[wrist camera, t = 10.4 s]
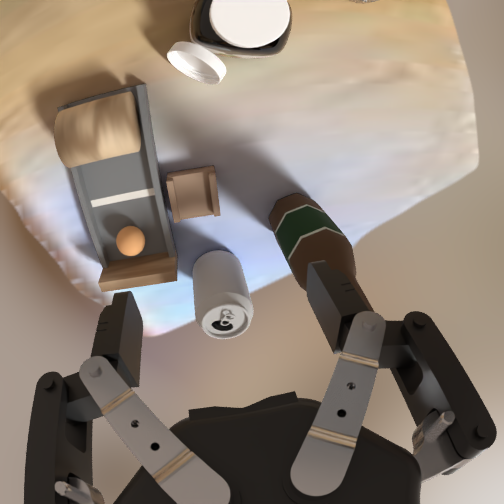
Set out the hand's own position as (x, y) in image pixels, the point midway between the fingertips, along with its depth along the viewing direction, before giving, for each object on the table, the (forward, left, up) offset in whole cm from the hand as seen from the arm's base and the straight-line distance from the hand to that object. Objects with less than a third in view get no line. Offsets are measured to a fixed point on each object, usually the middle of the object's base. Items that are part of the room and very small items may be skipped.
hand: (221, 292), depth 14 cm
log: (-5, -11, -28) cm, 31 cm away
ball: (+11, -11, -26) cm, 30 cm away
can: (+19, 0, -28) cm, 34 cm away
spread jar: (-13, +4, -28) cm, 31 cm away
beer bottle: (+12, +12, -28) cm, 33 cm away
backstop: (+15, -11, -28) cm, 34 cm away
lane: (+3, -11, -28) cm, 30 cm away
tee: (+6, -2, -28) cm, 29 cm away
